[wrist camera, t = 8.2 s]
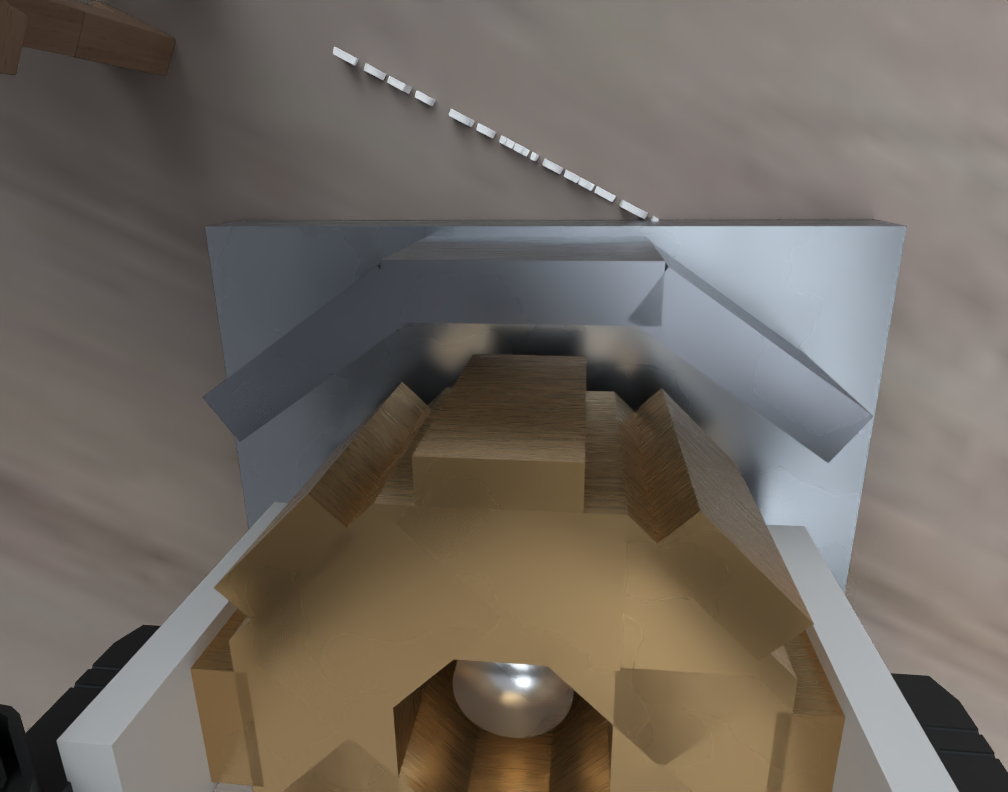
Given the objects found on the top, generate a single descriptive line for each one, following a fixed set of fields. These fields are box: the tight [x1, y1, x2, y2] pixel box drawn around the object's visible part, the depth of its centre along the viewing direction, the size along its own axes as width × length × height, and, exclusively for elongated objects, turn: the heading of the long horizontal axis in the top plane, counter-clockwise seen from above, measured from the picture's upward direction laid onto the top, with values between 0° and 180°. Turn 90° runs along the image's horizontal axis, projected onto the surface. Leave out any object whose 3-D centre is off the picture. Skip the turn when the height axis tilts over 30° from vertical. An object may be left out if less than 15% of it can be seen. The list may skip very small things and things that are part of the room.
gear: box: [190, 354, 845, 792], centre depth 13 cm, size 9×9×5 cm
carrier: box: [203, 220, 907, 738], centre depth 16 cm, size 20×14×6 cm
